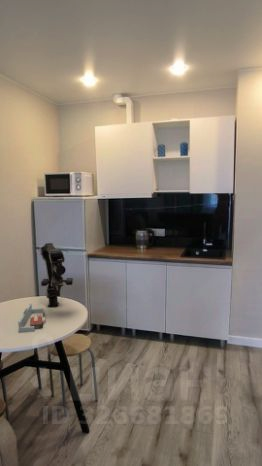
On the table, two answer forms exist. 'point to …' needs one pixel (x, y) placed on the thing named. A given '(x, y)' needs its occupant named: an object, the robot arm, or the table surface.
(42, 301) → the table surface
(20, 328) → the mounting bracket
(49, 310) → the table surface
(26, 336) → the table surface
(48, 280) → the robot arm
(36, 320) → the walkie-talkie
